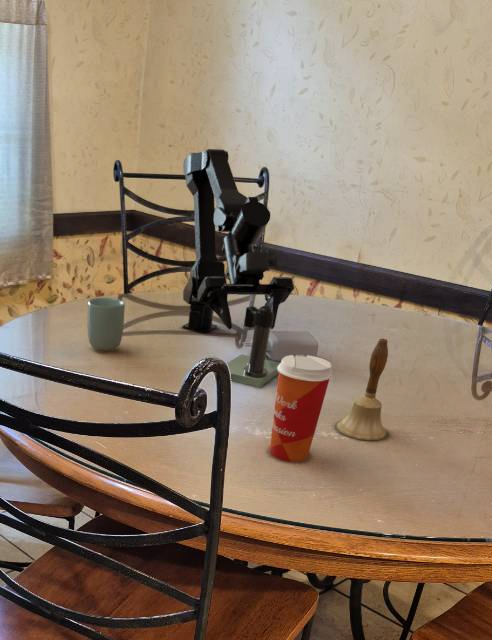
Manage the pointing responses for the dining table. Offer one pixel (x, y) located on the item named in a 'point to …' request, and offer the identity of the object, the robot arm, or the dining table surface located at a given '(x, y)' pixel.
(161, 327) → the dining table surface
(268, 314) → the spout
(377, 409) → the hand bell
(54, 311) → the dining table surface
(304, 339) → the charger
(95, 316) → the cup
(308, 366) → the coffee cup
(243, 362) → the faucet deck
